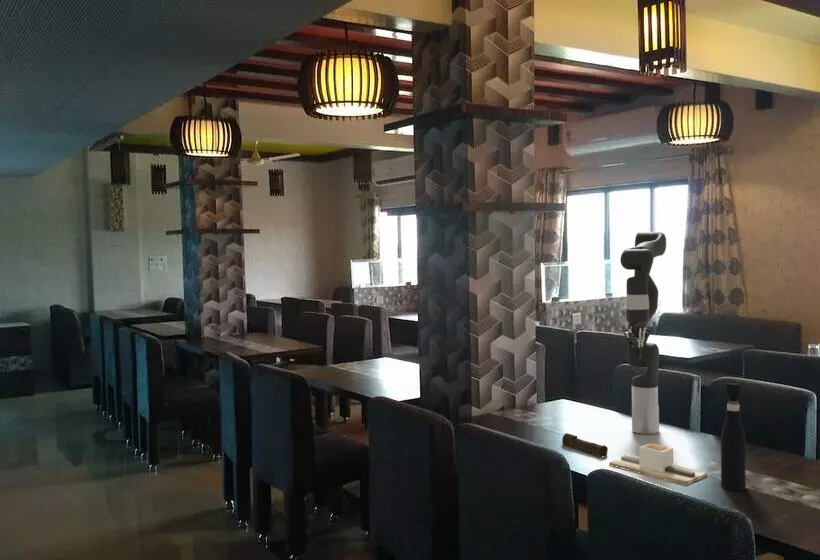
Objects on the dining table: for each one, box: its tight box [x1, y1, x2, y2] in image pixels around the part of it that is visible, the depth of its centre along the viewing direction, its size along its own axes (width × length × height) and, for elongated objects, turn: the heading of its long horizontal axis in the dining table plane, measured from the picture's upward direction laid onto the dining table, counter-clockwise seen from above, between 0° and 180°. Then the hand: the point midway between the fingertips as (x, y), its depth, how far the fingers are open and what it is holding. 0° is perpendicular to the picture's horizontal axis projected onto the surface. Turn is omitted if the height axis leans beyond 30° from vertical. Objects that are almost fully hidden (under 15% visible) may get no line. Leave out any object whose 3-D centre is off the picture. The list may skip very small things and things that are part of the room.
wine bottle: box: [720, 381, 747, 492], centre depth 203 cm, size 6×6×30 cm
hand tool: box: [561, 432, 609, 458], centre depth 243 cm, size 19×4×5 cm, turn 31°
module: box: [638, 443, 675, 473], centre depth 220 cm, size 6×8×6 cm
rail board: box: [608, 454, 708, 486], centre depth 220 cm, size 12×26×2 cm, turn 40°
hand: (637, 358), depth 244 cm, fingers closed
